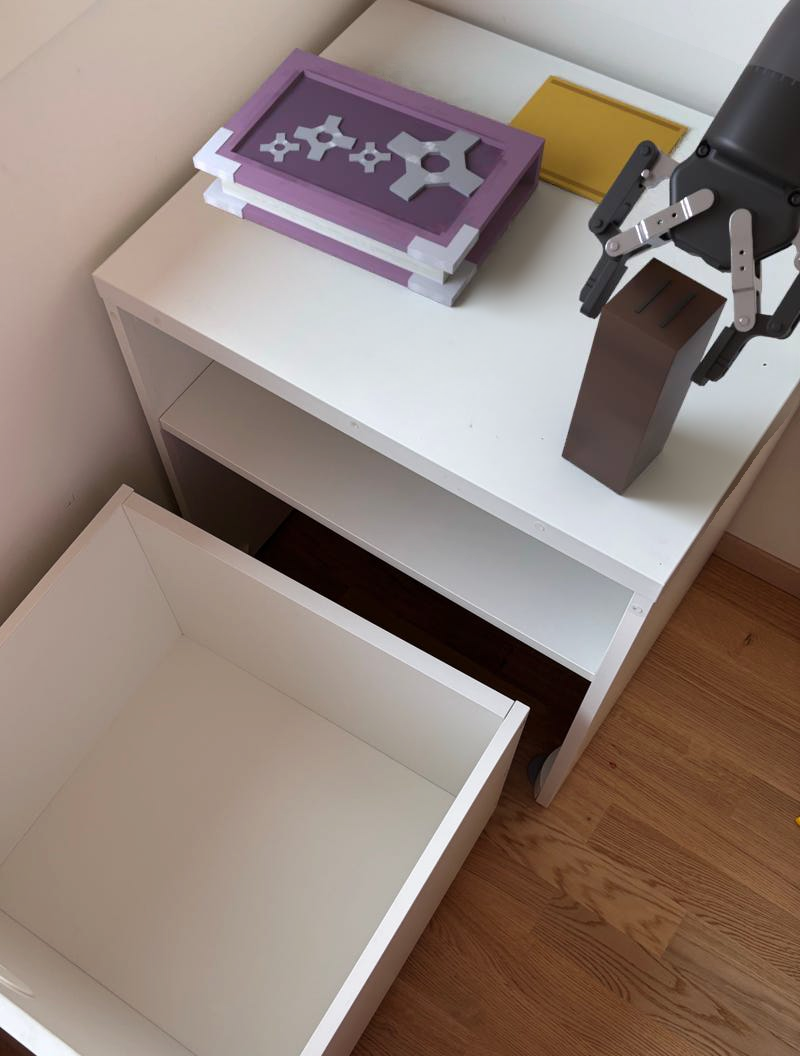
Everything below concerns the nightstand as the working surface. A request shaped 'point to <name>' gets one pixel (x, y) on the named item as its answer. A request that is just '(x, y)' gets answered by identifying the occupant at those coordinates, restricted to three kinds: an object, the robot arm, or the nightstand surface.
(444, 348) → the nightstand surface
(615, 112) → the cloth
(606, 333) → the knife block
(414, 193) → the book
